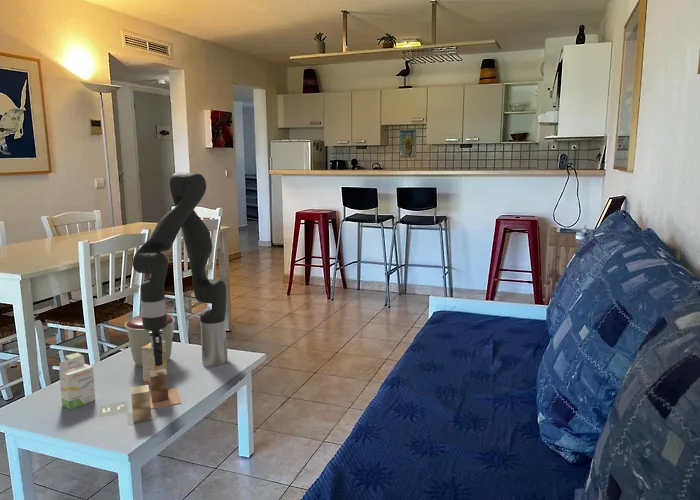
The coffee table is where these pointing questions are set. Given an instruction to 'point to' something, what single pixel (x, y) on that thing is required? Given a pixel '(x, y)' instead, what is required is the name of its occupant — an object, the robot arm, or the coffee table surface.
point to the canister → (146, 337)
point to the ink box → (76, 383)
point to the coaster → (172, 397)
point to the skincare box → (73, 357)
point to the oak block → (141, 403)
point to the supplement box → (151, 361)
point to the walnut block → (159, 385)
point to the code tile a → (112, 408)
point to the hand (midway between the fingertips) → (157, 360)
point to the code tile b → (153, 418)
